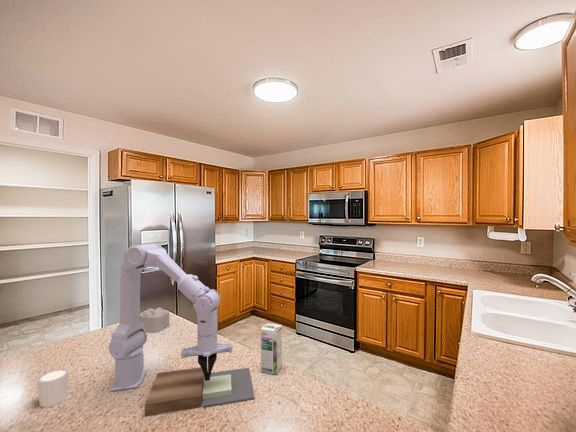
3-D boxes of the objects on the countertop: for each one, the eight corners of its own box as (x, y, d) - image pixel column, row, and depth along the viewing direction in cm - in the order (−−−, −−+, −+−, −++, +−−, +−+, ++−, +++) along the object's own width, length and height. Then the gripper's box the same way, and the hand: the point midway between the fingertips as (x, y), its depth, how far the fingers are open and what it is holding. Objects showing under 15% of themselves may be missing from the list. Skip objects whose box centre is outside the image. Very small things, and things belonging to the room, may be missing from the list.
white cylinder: (52, 392, 80) (52, 368, 80) (74, 392, 80) (75, 368, 80) (29, 408, 73) (29, 382, 73) (53, 408, 73) (54, 382, 73)
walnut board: (157, 382, 84) (157, 372, 84) (204, 376, 88) (204, 366, 88) (144, 416, 70) (144, 404, 70) (201, 406, 73) (201, 395, 73)
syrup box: (260, 372, 90) (260, 328, 90) (267, 363, 95) (267, 322, 96) (275, 375, 88) (275, 330, 88) (282, 366, 93) (282, 324, 94)
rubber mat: (206, 375, 88) (206, 373, 88) (248, 369, 92) (248, 367, 92) (202, 407, 73) (202, 405, 73) (254, 399, 76) (254, 397, 76)
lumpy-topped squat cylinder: (157, 333, 121) (157, 314, 121) (132, 331, 124) (132, 312, 124) (172, 325, 131) (172, 307, 131) (149, 323, 134) (149, 305, 134)
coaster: (204, 382, 83) (204, 377, 83) (230, 379, 85) (230, 374, 85) (202, 399, 75) (202, 393, 75) (231, 394, 77) (231, 389, 77)
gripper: (179, 341, 74) (179, 390, 74) (232, 335, 78) (233, 382, 78) (183, 331, 81) (183, 376, 81) (231, 326, 85) (232, 369, 85)
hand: (207, 378), depth 80 cm, fingers closed
